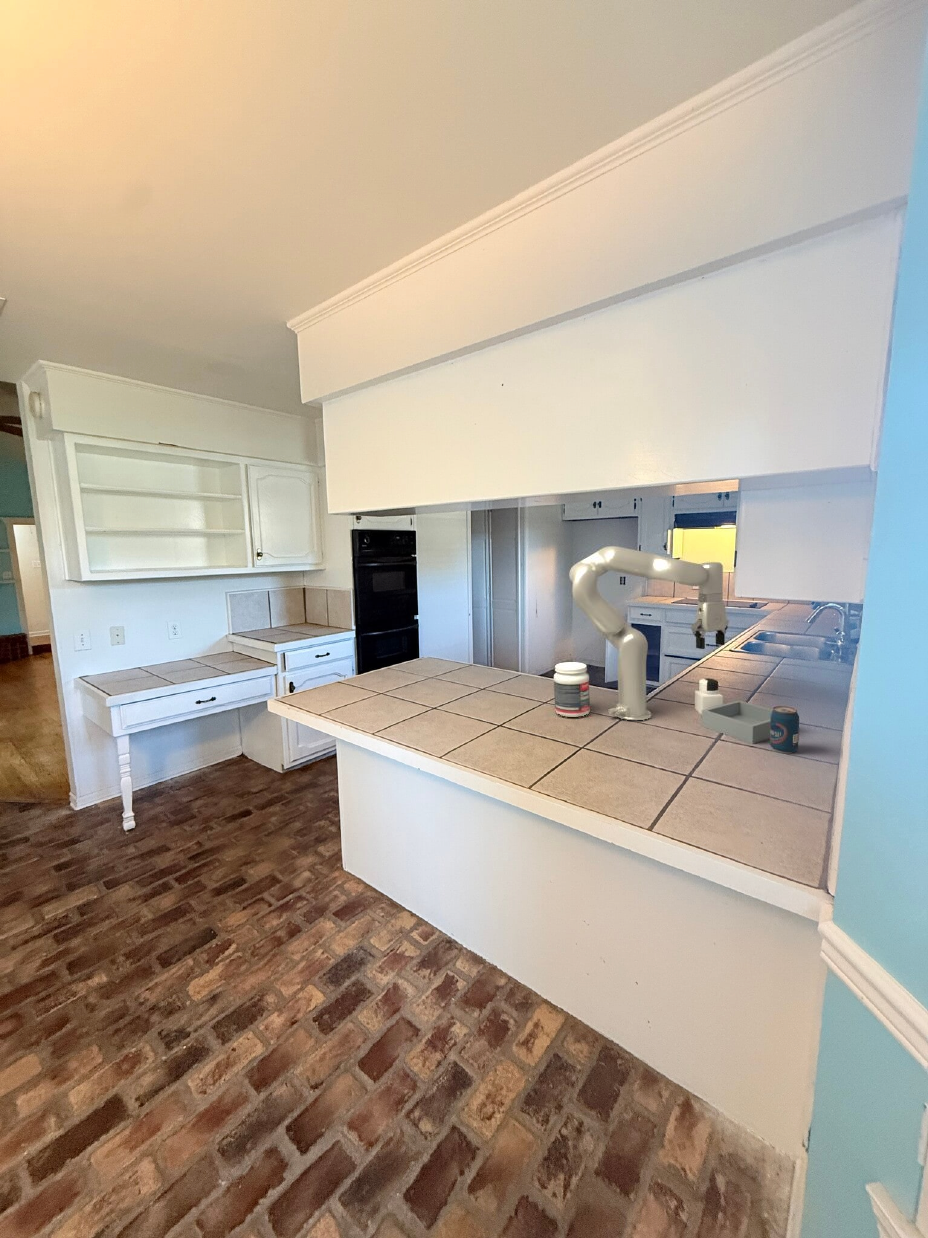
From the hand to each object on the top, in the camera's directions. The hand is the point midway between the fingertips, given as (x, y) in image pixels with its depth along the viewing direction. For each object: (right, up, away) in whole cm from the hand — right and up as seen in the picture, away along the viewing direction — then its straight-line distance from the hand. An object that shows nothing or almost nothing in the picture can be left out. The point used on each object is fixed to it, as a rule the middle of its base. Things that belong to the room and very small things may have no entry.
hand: (710, 646), depth 172 cm
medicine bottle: (+1, -24, +3) cm, 24 cm away
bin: (+4, -26, -14) cm, 30 cm away
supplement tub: (-46, -26, +11) cm, 54 cm away
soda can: (+6, -28, -30) cm, 42 cm away
